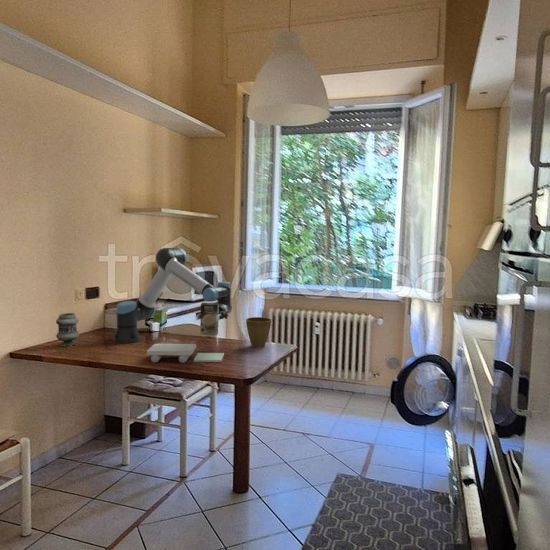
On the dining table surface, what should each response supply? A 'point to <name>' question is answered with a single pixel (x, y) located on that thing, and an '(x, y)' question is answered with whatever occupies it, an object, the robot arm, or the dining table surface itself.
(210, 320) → the coffee box
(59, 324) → the apothecary jar
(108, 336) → the dining table surface
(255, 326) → the plant pot
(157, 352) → the slab on rollers
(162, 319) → the tea box
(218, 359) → the pad
